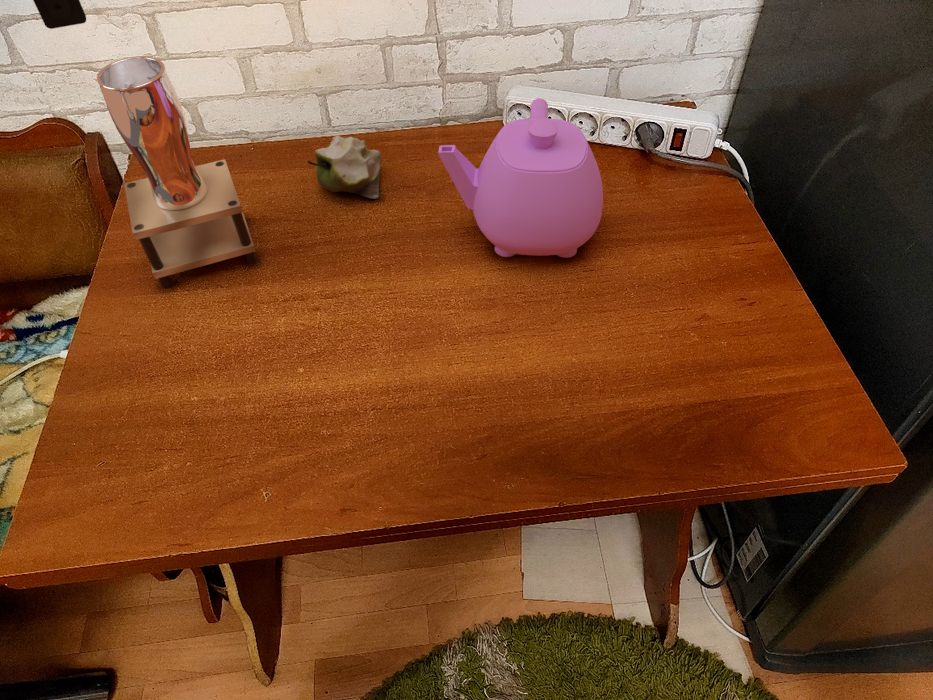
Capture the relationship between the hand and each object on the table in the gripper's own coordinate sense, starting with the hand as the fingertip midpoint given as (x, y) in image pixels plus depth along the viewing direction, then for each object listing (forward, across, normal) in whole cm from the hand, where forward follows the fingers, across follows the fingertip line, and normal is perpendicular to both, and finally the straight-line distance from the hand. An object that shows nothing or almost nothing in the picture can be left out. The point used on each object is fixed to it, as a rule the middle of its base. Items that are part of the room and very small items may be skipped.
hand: (65, 1), depth 60 cm
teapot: (+32, +8, +42) cm, 54 cm away
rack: (+32, -3, +3) cm, 32 cm away
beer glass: (+23, -2, +3) cm, 24 cm away
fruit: (+32, -9, +24) cm, 41 cm away
